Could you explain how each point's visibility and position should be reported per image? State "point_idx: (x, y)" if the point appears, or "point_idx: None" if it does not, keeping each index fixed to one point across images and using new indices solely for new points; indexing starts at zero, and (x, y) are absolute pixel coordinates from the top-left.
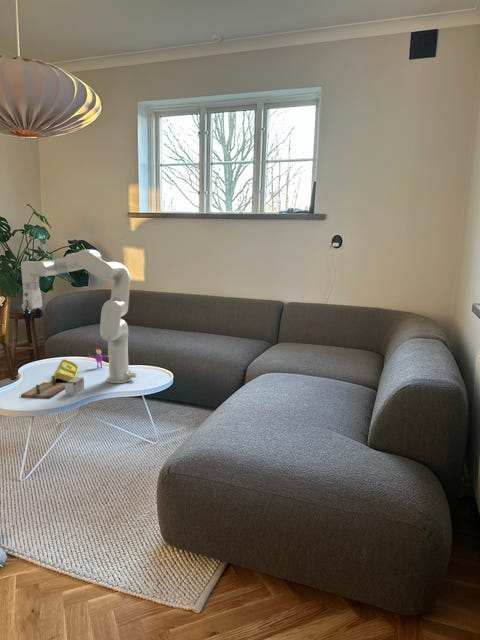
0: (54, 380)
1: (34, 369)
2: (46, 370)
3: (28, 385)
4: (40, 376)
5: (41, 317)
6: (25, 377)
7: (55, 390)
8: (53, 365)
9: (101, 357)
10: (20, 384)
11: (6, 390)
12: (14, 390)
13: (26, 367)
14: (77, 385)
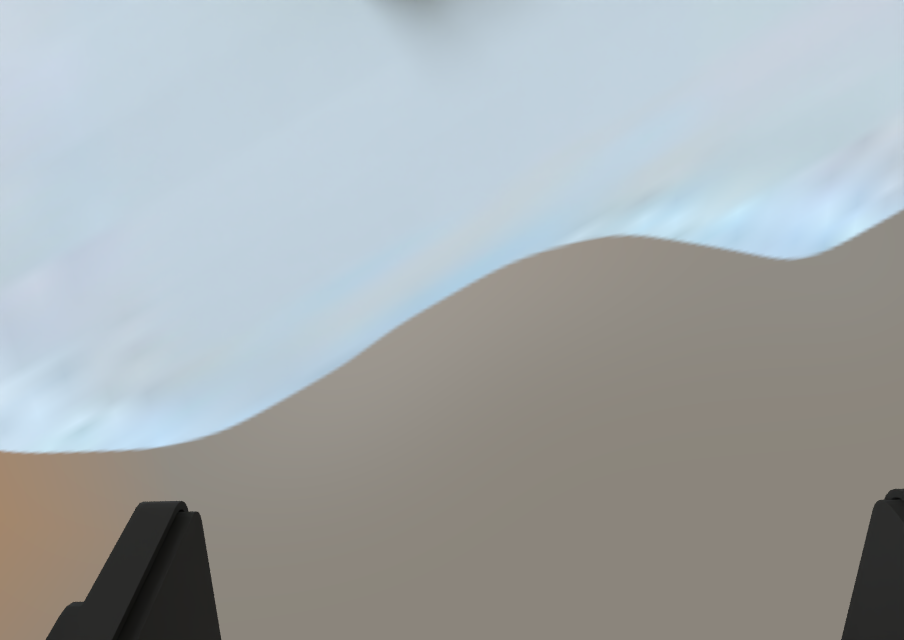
0: None
1: (209, 330)
2: (216, 188)
3: (748, 84)
4: (437, 132)
5: (181, 502)
6: (484, 265)
7: None
8: (17, 216)
9: None
10: (711, 184)
11: (888, 209)
12: (898, 134)
13: (162, 438)
14: None
